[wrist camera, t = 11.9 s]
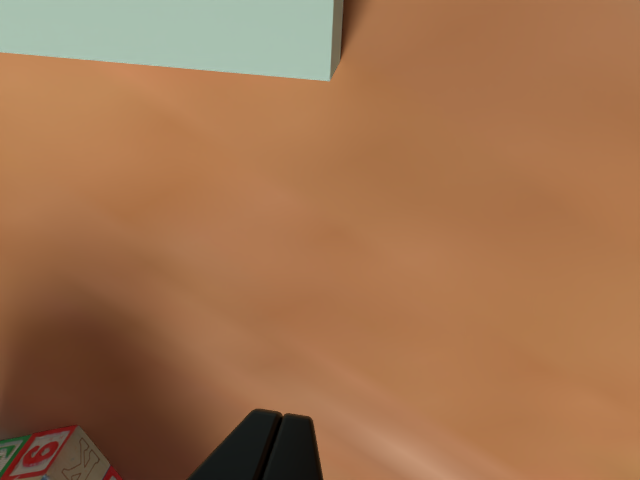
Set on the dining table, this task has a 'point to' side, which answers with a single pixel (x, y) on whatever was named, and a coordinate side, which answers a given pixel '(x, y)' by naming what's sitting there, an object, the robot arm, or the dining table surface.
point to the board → (182, 33)
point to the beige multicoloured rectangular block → (54, 457)
